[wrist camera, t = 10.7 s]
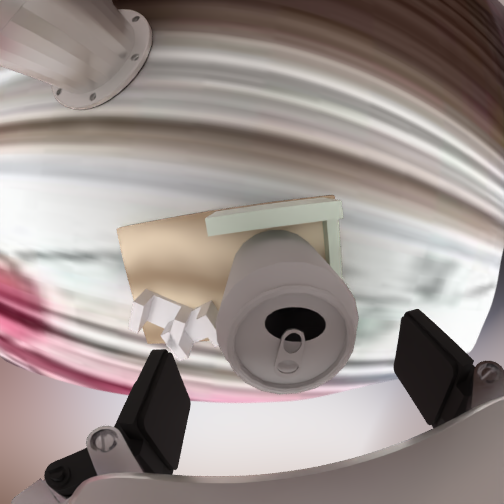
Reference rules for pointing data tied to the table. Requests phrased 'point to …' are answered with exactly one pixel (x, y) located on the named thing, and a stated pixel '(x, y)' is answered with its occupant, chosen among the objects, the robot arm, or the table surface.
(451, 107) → the table surface
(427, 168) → the table surface
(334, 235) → the bracket
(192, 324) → the clip
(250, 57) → the table surface
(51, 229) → the table surface
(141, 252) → the board
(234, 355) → the can
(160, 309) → the clip
